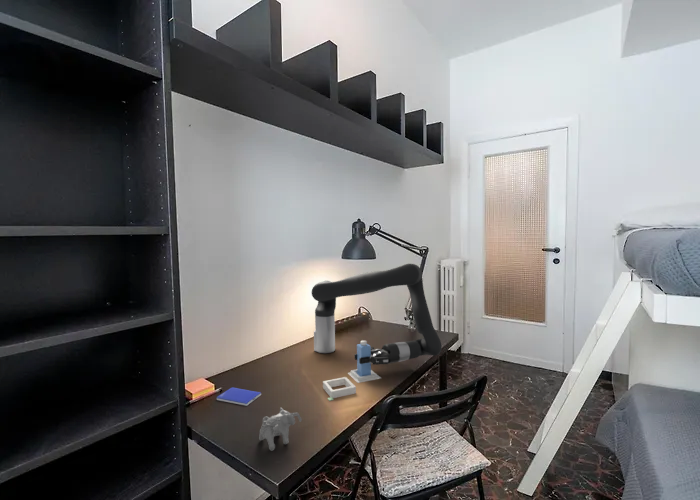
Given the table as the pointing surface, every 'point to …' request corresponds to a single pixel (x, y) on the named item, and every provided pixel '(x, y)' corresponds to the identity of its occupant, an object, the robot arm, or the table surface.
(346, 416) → the table surface
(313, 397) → the table surface
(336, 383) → the frame
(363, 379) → the white square tray
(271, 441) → the elephant statuette
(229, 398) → the hard drive
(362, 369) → the blue square bottle
